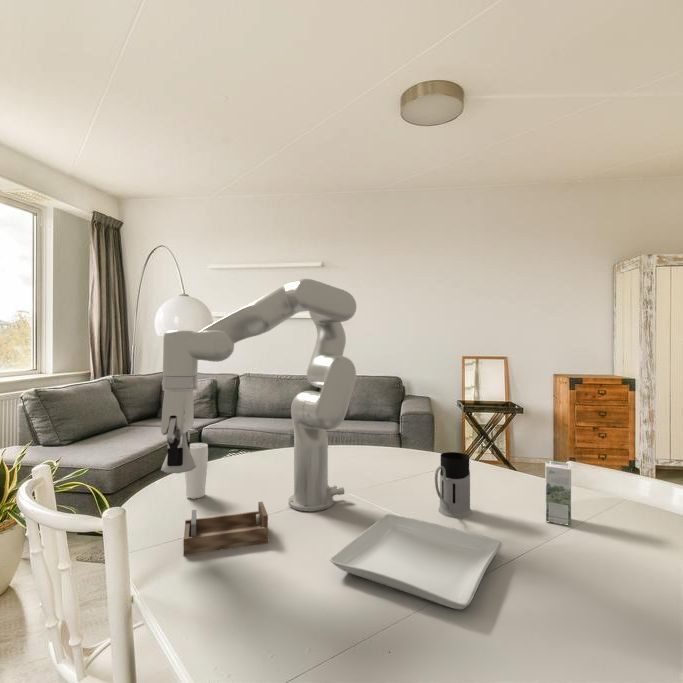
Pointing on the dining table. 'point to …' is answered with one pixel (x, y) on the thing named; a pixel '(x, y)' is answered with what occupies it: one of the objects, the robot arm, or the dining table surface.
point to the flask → (187, 459)
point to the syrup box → (558, 492)
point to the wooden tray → (227, 532)
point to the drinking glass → (197, 471)
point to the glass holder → (454, 485)
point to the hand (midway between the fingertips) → (178, 461)
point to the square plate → (420, 559)
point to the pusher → (193, 523)
